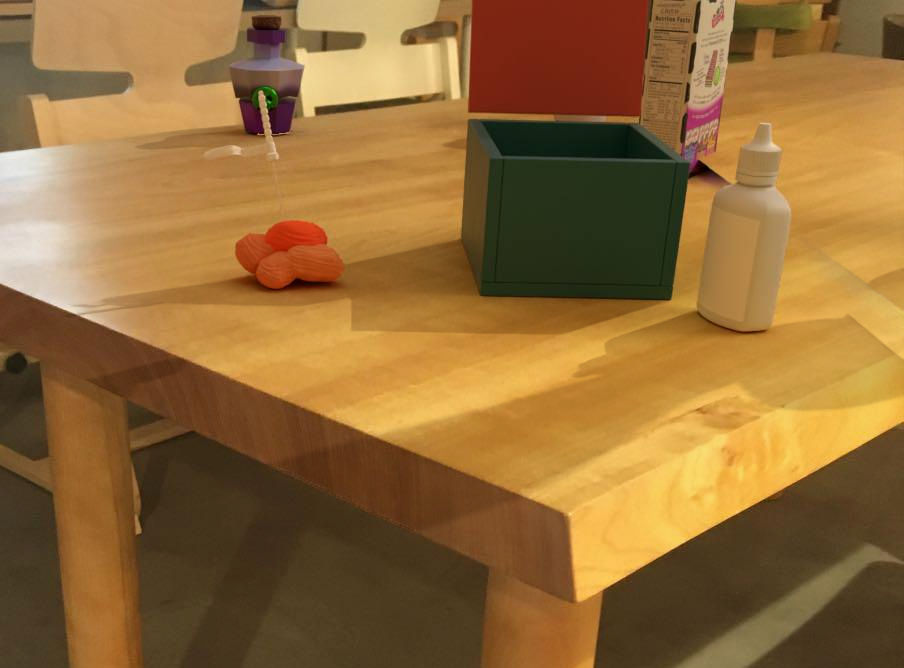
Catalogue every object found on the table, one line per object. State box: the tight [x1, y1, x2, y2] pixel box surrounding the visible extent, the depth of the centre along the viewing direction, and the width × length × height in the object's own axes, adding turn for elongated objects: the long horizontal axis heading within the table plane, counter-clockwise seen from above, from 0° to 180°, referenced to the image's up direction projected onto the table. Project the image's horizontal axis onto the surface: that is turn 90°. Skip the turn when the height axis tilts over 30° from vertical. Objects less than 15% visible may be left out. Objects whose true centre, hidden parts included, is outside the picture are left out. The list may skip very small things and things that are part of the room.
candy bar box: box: [638, 0, 737, 178], centre depth 119 cm, size 11×5×16 cm, turn 148°
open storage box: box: [460, 118, 691, 300], centre depth 88 cm, size 16×13×9 cm
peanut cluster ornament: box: [203, 91, 345, 290], centre depth 82 cm, size 6×10×12 cm, turn 75°
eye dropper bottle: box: [696, 122, 792, 333], centre depth 76 cm, size 4×6×12 cm
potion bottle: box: [228, 14, 305, 136], centre depth 135 cm, size 9×9×12 cm
